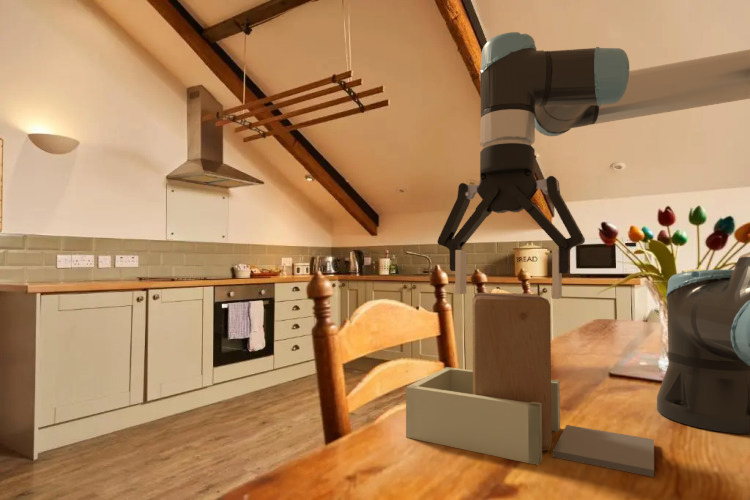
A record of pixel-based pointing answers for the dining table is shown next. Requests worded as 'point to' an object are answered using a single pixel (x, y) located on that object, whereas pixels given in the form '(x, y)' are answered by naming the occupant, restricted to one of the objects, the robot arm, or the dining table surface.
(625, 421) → the dining table surface
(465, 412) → the crate
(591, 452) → the trivet
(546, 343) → the wooden block
